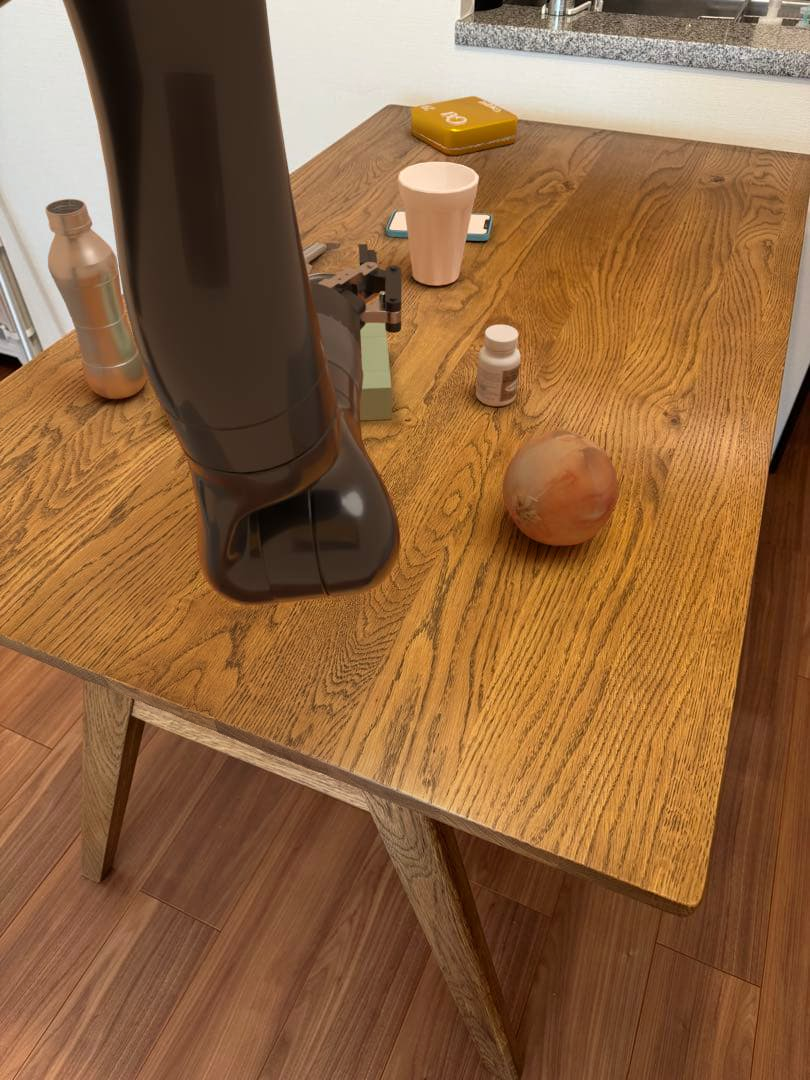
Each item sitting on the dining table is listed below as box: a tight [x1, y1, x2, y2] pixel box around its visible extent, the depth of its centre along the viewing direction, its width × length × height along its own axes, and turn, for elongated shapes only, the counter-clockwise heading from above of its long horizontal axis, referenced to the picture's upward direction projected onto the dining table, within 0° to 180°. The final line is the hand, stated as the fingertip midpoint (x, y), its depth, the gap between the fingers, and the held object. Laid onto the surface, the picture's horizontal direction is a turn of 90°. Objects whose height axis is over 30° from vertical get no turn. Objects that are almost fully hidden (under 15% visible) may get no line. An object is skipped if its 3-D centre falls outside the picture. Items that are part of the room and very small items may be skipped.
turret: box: [303, 241, 327, 275], centre depth 103 cm, size 10×20×5 cm, turn 162°
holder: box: [169, 323, 393, 429], centre depth 85 cm, size 13×23×4 cm, turn 94°
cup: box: [397, 161, 480, 286], centre depth 100 cm, size 10×10×13 cm
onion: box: [502, 428, 619, 547], centre depth 67 cm, size 10×10×10 cm
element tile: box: [410, 95, 519, 157], centre depth 141 cm, size 15×15×5 cm
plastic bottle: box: [44, 198, 148, 400], centre depth 79 cm, size 6×7×20 cm
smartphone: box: [385, 209, 494, 242], centre depth 115 cm, size 8×1×15 cm
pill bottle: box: [475, 323, 522, 407], centre depth 82 cm, size 4×4×8 cm
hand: (311, 255), depth 64 cm, fingers open, 8 cm apart
